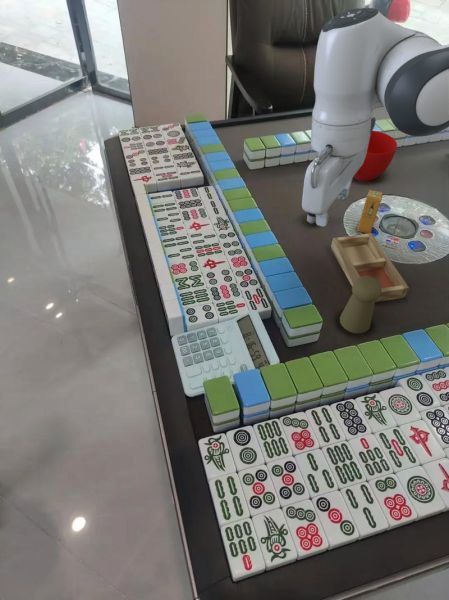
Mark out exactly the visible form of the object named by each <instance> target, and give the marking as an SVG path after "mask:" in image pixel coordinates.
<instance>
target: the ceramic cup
mask: <svg viewBox="0 0 449 600" xmlns="http://www.w3.org/2000/svg"><path fill="white" fill-rule="evenodd" d="M397 147H398V143H397V140H396V139H395V138H394V137H392V136H391V135H389V134H387V133H385V132H382V131H378V130H374V129H373V130H372V131H371V134H370V139H369V144H368V149H367V153H366V157H365V160H364V162H363V164H362V166H361V167H360V168H359V170H358V171H357V172H356V173H355V175H354V176H353V178H354V179H356V180H357V181H362V182H370V181H373V180H374V179H376V178H378V177H380V175H382V174H383V173H384V172H385V171H386V170H387V169H388V167H389V166H390V165H391V164H392V161H393V159H394V156H395V154H396V151H397Z"/></svg>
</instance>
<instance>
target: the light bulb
mask: <svg viewBox="0 0 449 600" xmlns="http://www.w3.org/2000/svg"><path fill="white" fill-rule="evenodd" d="M306 213H307V215H306V216H307V217H306V221H307V222H308V223H309V224H311V225H313V224H314V223H315V224H316V215H315V214H312V213H308V212H306Z"/></svg>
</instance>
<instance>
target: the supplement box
mask: <svg viewBox="0 0 449 600" xmlns="http://www.w3.org/2000/svg"><path fill="white" fill-rule="evenodd" d="M382 199H383V192H382V191H378V190H373V189H369V190H368V193H367V195H366V197H365V202H364V206H363V209H362V211H361V216H360V218H359V223H358V226H357V228H356V229H357V230H356V231H357V232H359V233H363V234H368V233H372V230H373V227H374V224H375V221H376V217H377V214H378V211H379V208H380V204H381V202H382Z"/></svg>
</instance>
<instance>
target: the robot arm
mask: <svg viewBox="0 0 449 600" xmlns="http://www.w3.org/2000/svg"><path fill="white" fill-rule="evenodd" d="M313 91H314V94H315V96H314V97H315V99H314V101H315V102H314V105H313V108H312V113H311V129H310V131H311V132H310V147H311V148H312V149H313V150H314V151H315V152H317V155H316V156H315V158H314V159H313V160H312V162H310V164H309V165H308V166H307V168H306V171H305V175H304V180H303V189H302V198H301V208H302V210H303V212H305V213H307V212H308V213H312V214H315V215H316V222H315V224H316V225H317V226H319V227H322V228H324V227H326V226H327V225H328V224H329V222H330V213H329V212H328V210H329V209H330V207H331V206H332V204H333V203H334V202H335V200H336V199H337V200H341V201H346V199H347V198H348V196H349V194H350V188H351V186H352V185H351V184H352V182H353V178H354V177H353V176H354V175H355V173H356V172H357V171H358V170H359V168H360V167H361V166H362V164H363V162H364V160H365V157H366V153H367V149H368V144H369V139H370V134H371V131H372V130H373V131H374V129H375V127H376V122H377V116H376V115H375V114H373V111H374V110H375V109H377V108H385V110H386V112H387V114H388V117H389V119H390V121H391V123H392V125H393V126H394V127H395V128H396V129H397V130H398V131H400V133H402V134H405V135H408V136H411V137H427V136H431V135H435V134H438V133H440V132H442V131H444V130H446V129H448V128H449V43H448V44H441V43H439V41H437V40H436V39H435V38H433V37H432V36H430V35H428V34H427V33H425V32H422V31H419V30H416V29H411V28H408V27H404V26H403V25H400V24H398V23H396V22H394V21H392V20H390V19H389V18H387V17H386V16H385V15H383V14H382V13H381V12H380V11H379V9H377V8H373V7H361V8H353V9H349V10H346V11H343V12H340V13H338V14H336V15H334V16H333V17H331V18H330V19H328V21H327V22H326V23H325V24H324V25H323V27H322V28H321V31H320V33H319V35H318V41H317V46H316V53H315V59H314V71H313ZM308 213H307V214H308Z"/></svg>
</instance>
